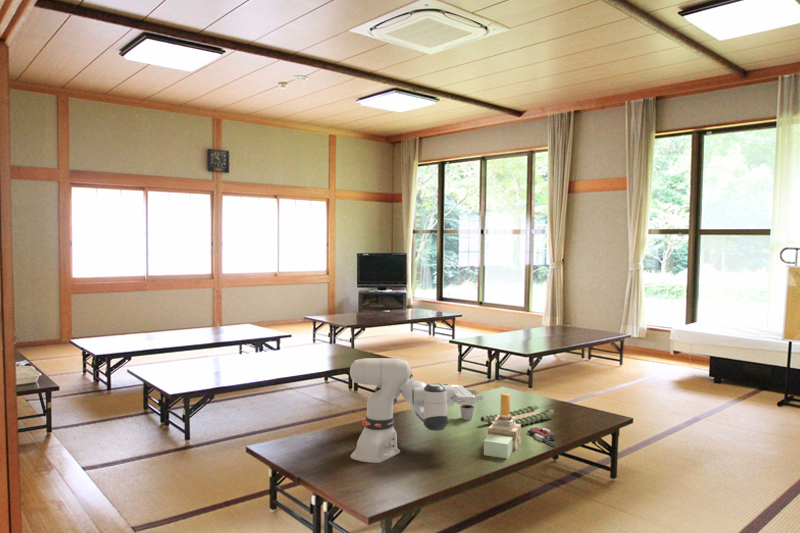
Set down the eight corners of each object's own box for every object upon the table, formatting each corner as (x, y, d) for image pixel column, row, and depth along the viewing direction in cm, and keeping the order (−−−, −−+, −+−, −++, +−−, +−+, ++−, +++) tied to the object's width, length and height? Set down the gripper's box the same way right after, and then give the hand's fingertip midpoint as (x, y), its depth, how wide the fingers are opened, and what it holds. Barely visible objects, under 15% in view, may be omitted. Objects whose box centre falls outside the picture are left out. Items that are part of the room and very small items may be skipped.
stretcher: (500, 433, 264) (500, 423, 264) (478, 425, 276) (478, 415, 276) (555, 419, 288) (555, 409, 288) (533, 412, 300) (533, 403, 300)
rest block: (507, 458, 231) (507, 444, 231) (483, 454, 235) (484, 440, 235) (512, 450, 240) (512, 437, 240) (489, 447, 244) (489, 433, 244)
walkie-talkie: (523, 434, 263) (553, 448, 245) (523, 425, 263) (553, 438, 245) (537, 432, 267) (568, 445, 250) (538, 423, 267) (568, 435, 249)
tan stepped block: (515, 450, 241) (515, 423, 240) (487, 446, 245) (488, 420, 245) (520, 441, 252) (521, 416, 251) (494, 438, 256) (494, 413, 256)
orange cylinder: (508, 426, 245) (509, 396, 245) (498, 424, 247) (499, 395, 247) (510, 423, 249) (511, 394, 249) (500, 421, 251) (501, 393, 251)
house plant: (444, 417, 287) (445, 385, 287) (462, 412, 296) (463, 382, 296) (466, 424, 277) (466, 391, 276) (484, 419, 286) (484, 387, 285)
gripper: (455, 394, 233) (487, 393, 236) (442, 382, 253) (472, 382, 256) (454, 409, 233) (486, 408, 236) (442, 396, 253) (471, 395, 256)
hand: (479, 394), depth 246 cm, fingers open, 8 cm apart
